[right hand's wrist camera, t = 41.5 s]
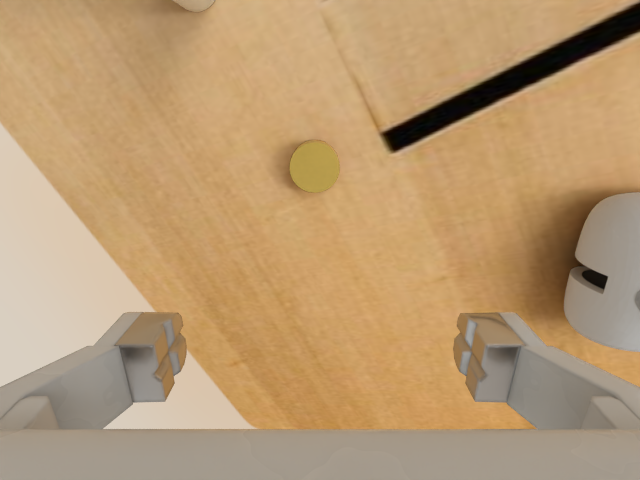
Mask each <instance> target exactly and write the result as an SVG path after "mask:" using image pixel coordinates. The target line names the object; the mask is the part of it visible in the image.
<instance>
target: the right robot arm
mask: <svg viewBox="0 0 640 480" xmlns="http://www.w3.org/2000/svg"><path fill="white" fill-rule="evenodd" d="M182 327H183V322H182V317H181V315H180V314H179V313H159V312H127V313H124V314H123V315H122V316H121V317H120V318H119V319H118V320H117V321H116V322H115V323H114V324H113V325H112V326H111V328H110V329H109V330H108V331H107V332H106V333H105V334H104V335H103V336H102V337H101V338H100V339H99V340H98V341H97V343H96V344H95V345H94V346H87V347H84V348H82V349H80V350H78V351H76V352H74V353H72V354H70V355H67V356H65V357H63V358H61V359H59V360H57V361H55V362H53V363H51V364H48V365H46V366H44V367H42V368H40V369H38V370H36V371H34V372H31V373H29V374H27V375H25V376H23V377H21V378H19V379H17V380H15V381H12V382H10V383H8V384H6V385H4V386H2V387H0V480H640V387H638V386H636V385H634V384H632V383H630V382H627V381H625V380H623V379H621V378H619V377H617V376H615V375H613V374H611V373H608V372H606V371H604V370H602V369H600V368H598V367H596V366H594V365H592V364H589V363H587V362H585V361H583V360H581V359H579V358H577V357H575V356H572V355H570V354H568V353H566V352H564V351H562V350H560V349H558V348H556V347H553V346H546V345H545V344H544V343H543V341H542V340H541V339H540V338H539V337H538V336H537V335H536V334H535V333H534V332H533V331H532V330H531V329H530V327H529V326H528V325H527V324H526V323H525V322H524V321H523V320H522V319H521V318H520V317H519V316H518V315H517V314H516V313H514V312H495V313H460V315H459V317H458V321H457V327H458V329H459V330H460V332H461V333H460V334H459V335H458V336H457V337H456V338H455V340H454V347H453V350H454V359H455V362H456V365H457V367H458V370H459V371H460V372H461V373H462V374H464V375H465V376H467V377H466V385H467V387H468V389H469V391H470V393H471V395H472V397H473V399H474V400H475V402H507V404H508V405H509V406H510V407H511V408H513V409H514V410H515V411H516V412H518V413H519V414H520V415H521V416H522V417H524V418H525V419H526V420H527V421H529V422H530V423H531V424H532V425H534V426H535V427H536V428H537V429H103V428H104V427H105V426H107V425H108V424H109V423H110V422H111V421H113V420H114V419H115V418H116V417H118V416H119V415H120V414H121V413H123V412H124V411H125V410H126V409H127V408H129V407H130V406H131V405H132V404H133V402H164V401H165V400H166V399H167V397H168V395H169V393H170V391H171V389H172V387H173V385H174V377H173V376H175V375H176V374H178V373H179V372H180V371H181V369H182V367H183V365H184V362H185V358H186V339H185V338H184V337H183V336H182V335H181V334H180V333H179V332H180V330H181V329H182Z"/></svg>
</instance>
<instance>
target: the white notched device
mask: <svg viewBox="0 0 640 480" xmlns="http://www.w3.org/2000/svg"><path fill="white" fill-rule="evenodd" d="M575 257H576V258H577V260H578V261H579V262H580V263H582V264H583V265H585V266H579V267H574V268H572V269H571V271H570V274H569V278H568V282H567V287H566V291H565V297H564V312H565V316H566V318H567V320H568V322H569V323H570V325H571V326H572V327H573V328H574V329H575V330H576V331H577V332H578V333H580V334H581V335H582V336H584V337H586V338H588V339H590V340H592V341H594V342H596V343H599V344H602V345H604V346H608V347H612V348H616V349H620V350H627V351H634V352H640V192H633V193H623V194H617V195H613V196H610V197H607V198H605V199H603V200H602V201H600V202H599V203H598V204H597V205H596V206H595V207H594V208H593V209H592V211H591V212H590V213H589V215H588V217H587V219H586V221H585V223H584V226H583V229H582V231H581V234H580V238H579V241H578V244H577V248H576V252H575Z"/></svg>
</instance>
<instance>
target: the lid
mask: <svg viewBox="0 0 640 480" xmlns="http://www.w3.org/2000/svg"><path fill="white" fill-rule="evenodd" d="M289 169H290V175H291V177H292V179H293V181H294V183H295V184H296V185H297V186H298V187H299V188H301V189H302V190H304V191H307V192H311V193H318V192H322V191H325V190H327V189H329V188H330V187H331V186H332V185H333V184H334V183H335V182H336V180H337V178H338V175H339V171H340V165H339V160H338V157H337V154H336V152H335V150H334V149H333V148H332V147H331V146H330V145H329V144H327V143H326V142H323V141H320V140H309V141H306V142H304V143H302V144H301V145H299V146H298V147H297V149H296V150H295V151H294V153H293V155H292V157H291V160H290V165H289Z"/></svg>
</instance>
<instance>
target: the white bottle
mask: <svg viewBox="0 0 640 480" xmlns="http://www.w3.org/2000/svg"><path fill="white" fill-rule="evenodd" d="M172 1H173V2H175V3H176V4H178V5H179V6H181V7H182V8H184V9H186V10H188V11H192V12H200V11H204V10H206V9H208V8H209V7H210V6H211V5H212V4H213V2H214V1H215V0H172Z"/></svg>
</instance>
